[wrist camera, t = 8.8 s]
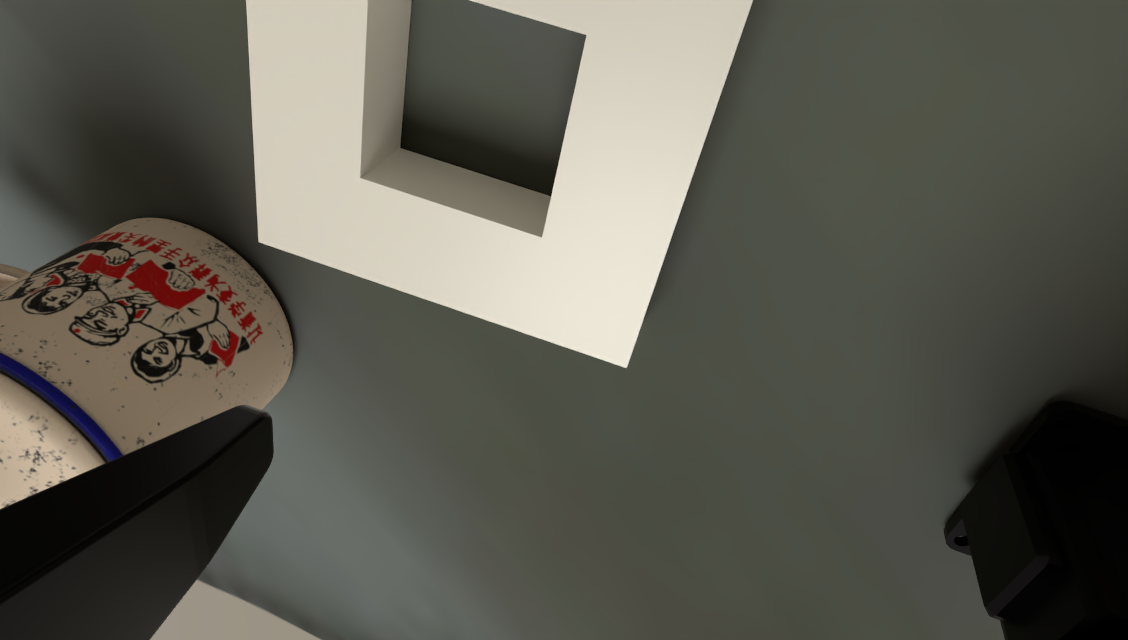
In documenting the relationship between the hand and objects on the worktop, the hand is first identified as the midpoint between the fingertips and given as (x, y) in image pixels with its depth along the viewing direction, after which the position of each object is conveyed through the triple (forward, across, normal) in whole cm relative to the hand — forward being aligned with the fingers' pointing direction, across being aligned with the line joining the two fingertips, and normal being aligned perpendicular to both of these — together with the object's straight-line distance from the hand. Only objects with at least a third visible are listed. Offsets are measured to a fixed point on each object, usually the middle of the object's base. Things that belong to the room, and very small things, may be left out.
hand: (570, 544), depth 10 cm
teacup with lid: (+13, +18, +11) cm, 25 cm away
